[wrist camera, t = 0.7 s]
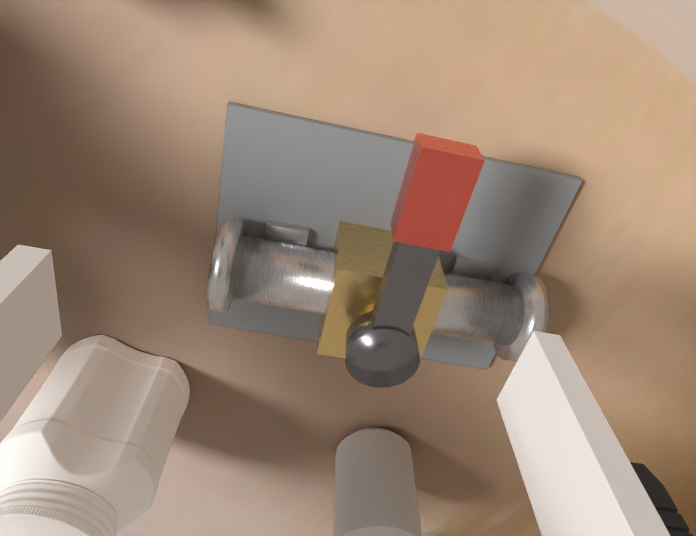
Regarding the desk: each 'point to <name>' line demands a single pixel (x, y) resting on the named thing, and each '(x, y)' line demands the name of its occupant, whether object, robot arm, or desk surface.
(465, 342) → the mat
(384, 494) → the can
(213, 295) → the valve
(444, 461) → the desk surface
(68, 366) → the jar
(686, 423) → the desk surface
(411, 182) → the lever
